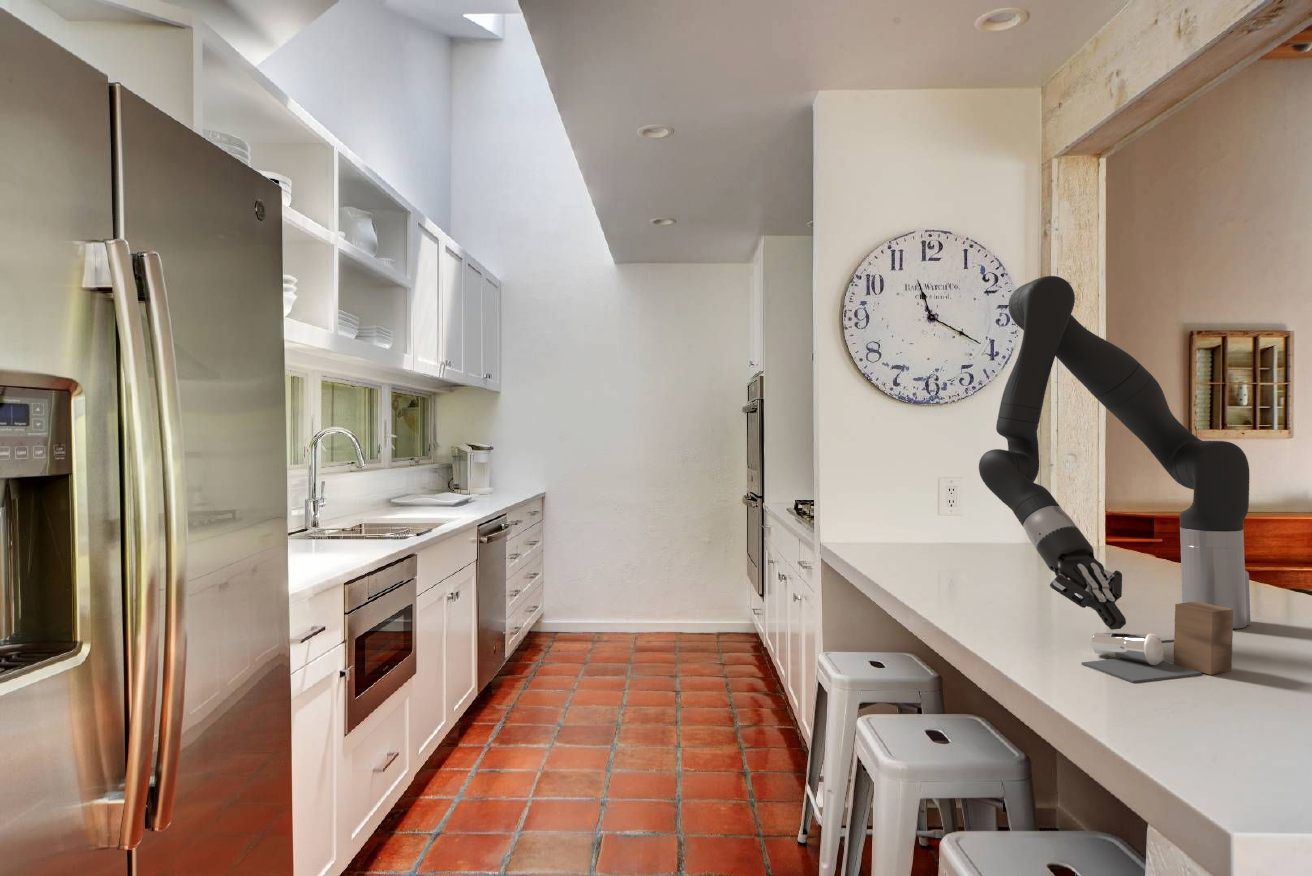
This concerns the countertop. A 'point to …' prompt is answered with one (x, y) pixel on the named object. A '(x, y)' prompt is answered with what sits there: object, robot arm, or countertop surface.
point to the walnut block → (1203, 637)
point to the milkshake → (1130, 646)
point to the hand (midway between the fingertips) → (1119, 626)
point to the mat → (1140, 670)
